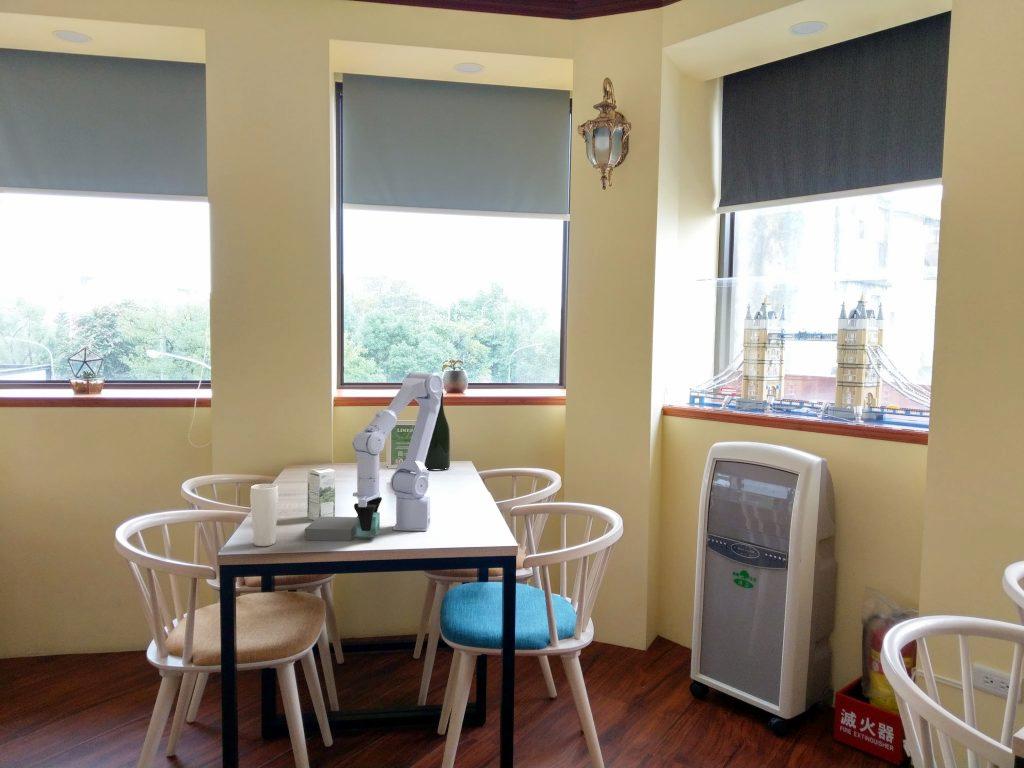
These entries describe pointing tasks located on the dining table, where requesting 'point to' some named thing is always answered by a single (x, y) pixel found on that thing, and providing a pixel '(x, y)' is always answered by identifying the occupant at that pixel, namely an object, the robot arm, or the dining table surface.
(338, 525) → the gray square slab
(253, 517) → the drinking glass
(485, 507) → the dining table surface
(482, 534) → the dining table surface
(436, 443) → the dark green bottle
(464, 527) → the dining table surface
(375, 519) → the teal cube
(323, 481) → the syrup box
